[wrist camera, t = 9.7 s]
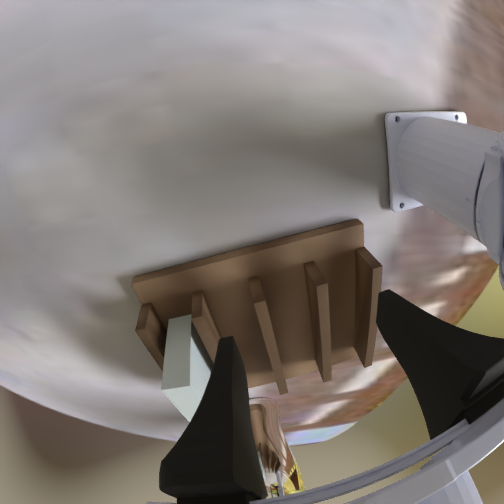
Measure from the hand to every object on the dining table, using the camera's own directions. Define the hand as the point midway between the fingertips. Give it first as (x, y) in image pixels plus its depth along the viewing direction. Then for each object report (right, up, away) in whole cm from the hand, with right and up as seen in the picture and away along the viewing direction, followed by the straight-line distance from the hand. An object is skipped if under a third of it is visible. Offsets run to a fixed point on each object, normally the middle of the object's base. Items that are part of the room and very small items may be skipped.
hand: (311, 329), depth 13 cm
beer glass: (-2, -16, +20) cm, 26 cm away
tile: (-8, -5, +11) cm, 14 cm away
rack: (-2, -3, +12) cm, 13 cm away
